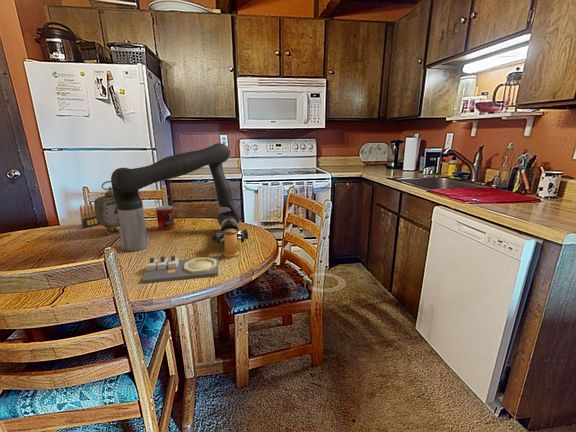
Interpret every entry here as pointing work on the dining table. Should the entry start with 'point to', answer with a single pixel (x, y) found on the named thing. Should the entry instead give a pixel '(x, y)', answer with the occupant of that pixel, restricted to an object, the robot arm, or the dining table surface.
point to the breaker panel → (179, 269)
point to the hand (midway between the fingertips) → (230, 241)
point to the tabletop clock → (107, 210)
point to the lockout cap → (230, 243)
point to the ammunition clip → (88, 217)
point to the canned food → (165, 217)
